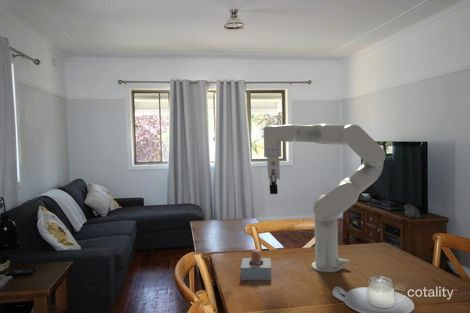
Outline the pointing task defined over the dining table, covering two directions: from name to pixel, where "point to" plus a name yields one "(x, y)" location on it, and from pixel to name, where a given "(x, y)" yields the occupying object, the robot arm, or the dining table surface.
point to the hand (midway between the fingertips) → (273, 192)
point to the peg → (255, 257)
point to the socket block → (256, 269)
